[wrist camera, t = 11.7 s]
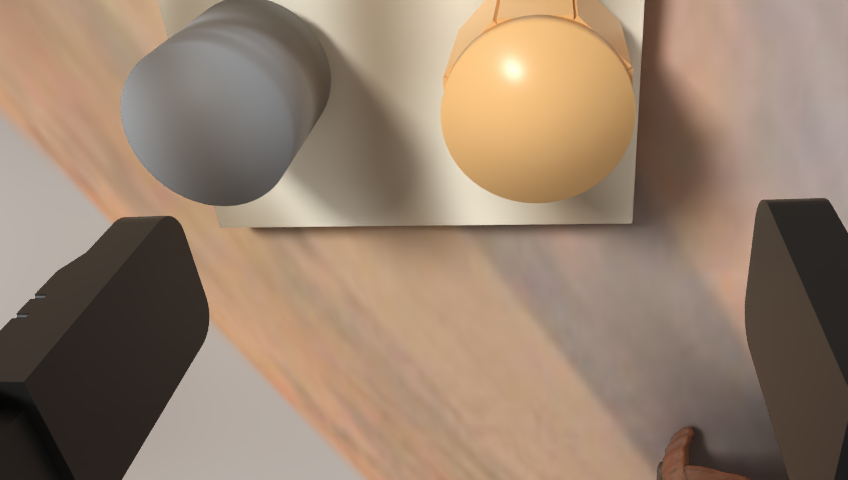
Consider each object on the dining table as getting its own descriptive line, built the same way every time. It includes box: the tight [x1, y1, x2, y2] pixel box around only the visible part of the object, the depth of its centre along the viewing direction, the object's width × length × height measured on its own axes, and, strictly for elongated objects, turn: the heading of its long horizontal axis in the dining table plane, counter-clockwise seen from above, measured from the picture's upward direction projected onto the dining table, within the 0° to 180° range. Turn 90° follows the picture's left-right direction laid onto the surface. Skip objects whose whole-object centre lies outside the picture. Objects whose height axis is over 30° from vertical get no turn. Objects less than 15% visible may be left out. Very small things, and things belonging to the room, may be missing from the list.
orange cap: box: [441, 0, 636, 203], centre depth 24 cm, size 6×6×5 cm
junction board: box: [121, 0, 645, 228], centre depth 26 cm, size 17×14×7 cm
